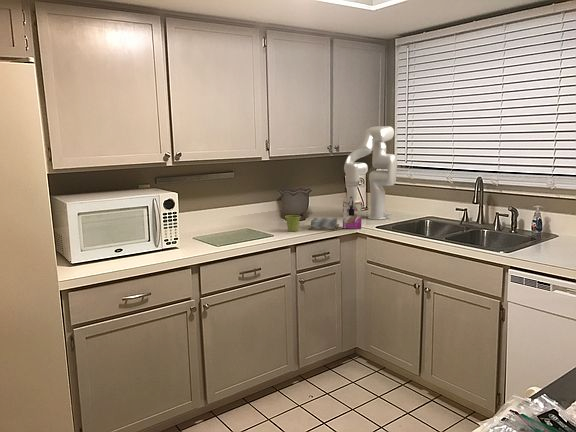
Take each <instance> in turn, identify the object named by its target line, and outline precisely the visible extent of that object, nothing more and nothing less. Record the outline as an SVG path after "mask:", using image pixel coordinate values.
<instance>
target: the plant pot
mask: <svg viewBox="0 0 576 432" xmlns="http://www.w3.org/2000/svg"><path fill="white" fill-rule="evenodd" d="M301 217H302V216H301V215H299V214H297V215H296V214H290V215H289V214H288V215H285V216H284V218H285V220H286V225H287V226H286V227H287V231H288V232H298V231H299V226H300V220H301Z"/></svg>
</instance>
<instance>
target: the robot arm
mask: <svg viewBox="0 0 576 432" xmlns="http://www.w3.org/2000/svg"><path fill="white" fill-rule="evenodd" d="M394 136H395V129H394V128H393V127H392V126H389V125H386V126H384V125H383V126H377V125H376V126H371V127H368V128H367V129H365V130H364V131H363V133H362V137H361V139H360V142H359V145H358V147H357V148H355V149H354V150H352V152H351V153H349V154H348V156H347V157H346V159H345V162H344V166H343V171H344V173H345V188H347V189H346V201H347V204H348V203H349V216H354V204H355V202H356V201H357V188H359V176H363V175H365V174H367V173H368V171H369V170H368V169H369V166H368V164H367V163H365V162H356V161H357V160H359V159H361V158H363V157H366V156H369V155H370V154H371V153H372V167H373V168H375V169H383V170H372V171H371V172H369V175H368V180H369V188H370V190H369V191H370V196H369V197H370V199H369V203H370V204H369V206H370V207H369V208H370V210H369V211H370V212H369V214H370V215H368V216H367V219H370V220H375V221H376V220H377V221H379V220H381V221H382V220H386V219H388V216H389V217H392V216H393V213H392V212H386V208H385V207H386V191H385V189H384V187H383V186H387V187H391V186H394V185H396V180H397V171H398V170H397V169H398V160H397V156H396V155H395V154H393V153H387V145H386V142H388V141H390V140H392V139H393V137H394ZM384 169H385V170H384ZM352 203H353V204H352Z"/></svg>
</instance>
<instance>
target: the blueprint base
mask: <svg viewBox="0 0 576 432" xmlns="http://www.w3.org/2000/svg"><path fill="white" fill-rule="evenodd" d="M339 226H340V224H339V223H338V217H314V218H312V220H311V221H310V227H308V230H309V229H310V230H309V231H337V229H338V228H339Z"/></svg>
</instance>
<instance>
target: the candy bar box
mask: <svg viewBox="0 0 576 432" xmlns="http://www.w3.org/2000/svg"><path fill="white" fill-rule="evenodd" d="M352 204H353V203H352ZM362 207H363V206H362V200H356V202H355V204H354V216H349V203H348V204H347V200H343V201H342V229H345V230H347V229H349V230H350V229H351V230H353V229H354V230H357V229H358V230H361V229H362Z"/></svg>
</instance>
